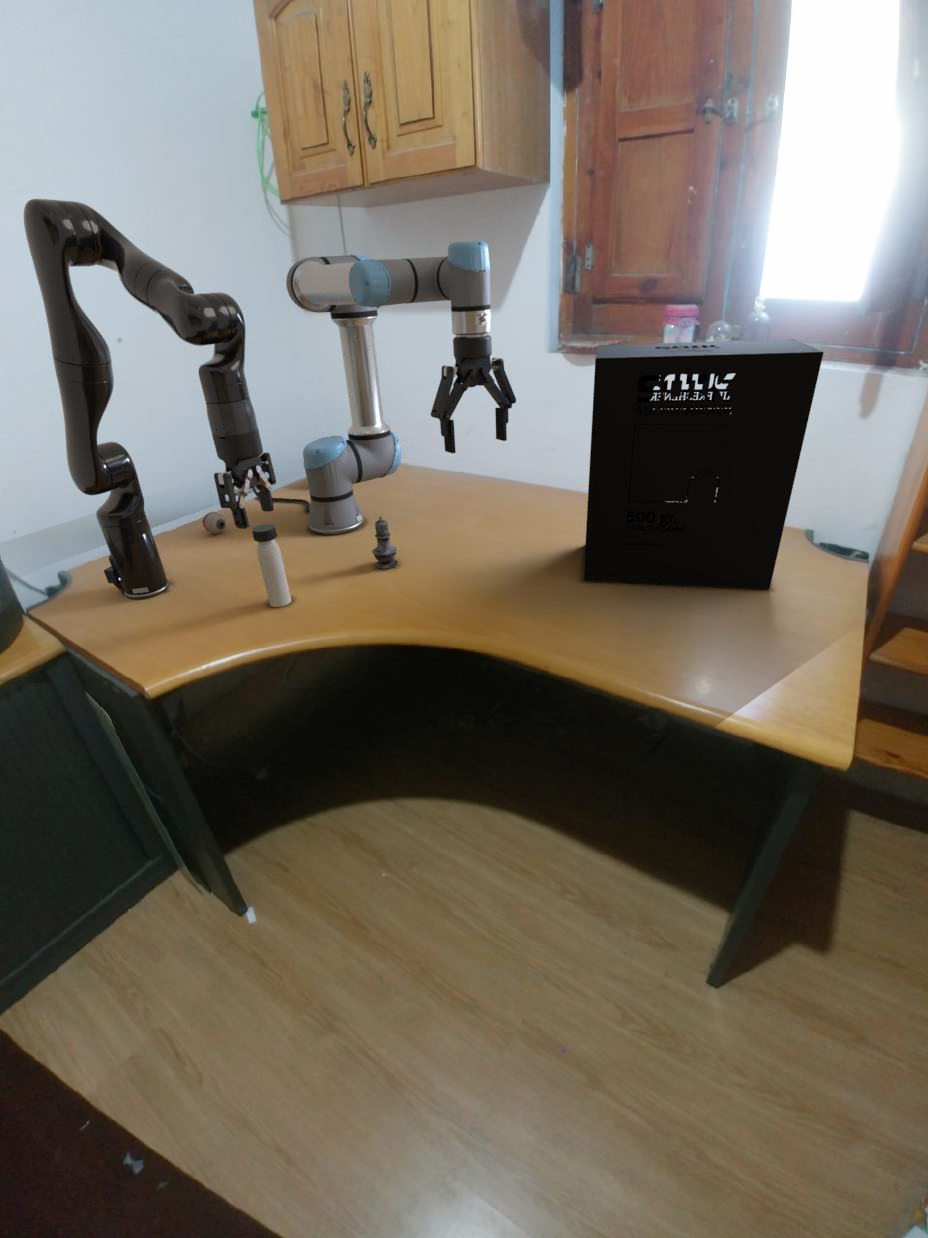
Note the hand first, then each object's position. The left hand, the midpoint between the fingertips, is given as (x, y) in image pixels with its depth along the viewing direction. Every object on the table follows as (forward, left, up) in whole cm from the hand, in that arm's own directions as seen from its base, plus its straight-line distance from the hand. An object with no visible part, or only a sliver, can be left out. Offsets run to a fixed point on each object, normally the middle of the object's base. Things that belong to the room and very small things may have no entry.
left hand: (256, 519), depth 109 cm
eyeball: (-45, +44, -23) cm, 67 cm away
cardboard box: (+75, +41, -23) cm, 89 cm away
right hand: (+33, +34, +5) cm, 48 cm away
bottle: (-6, +10, -23) cm, 26 cm away
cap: (-6, +10, -6) cm, 13 cm away
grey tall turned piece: (+10, +32, -23) cm, 41 cm away
